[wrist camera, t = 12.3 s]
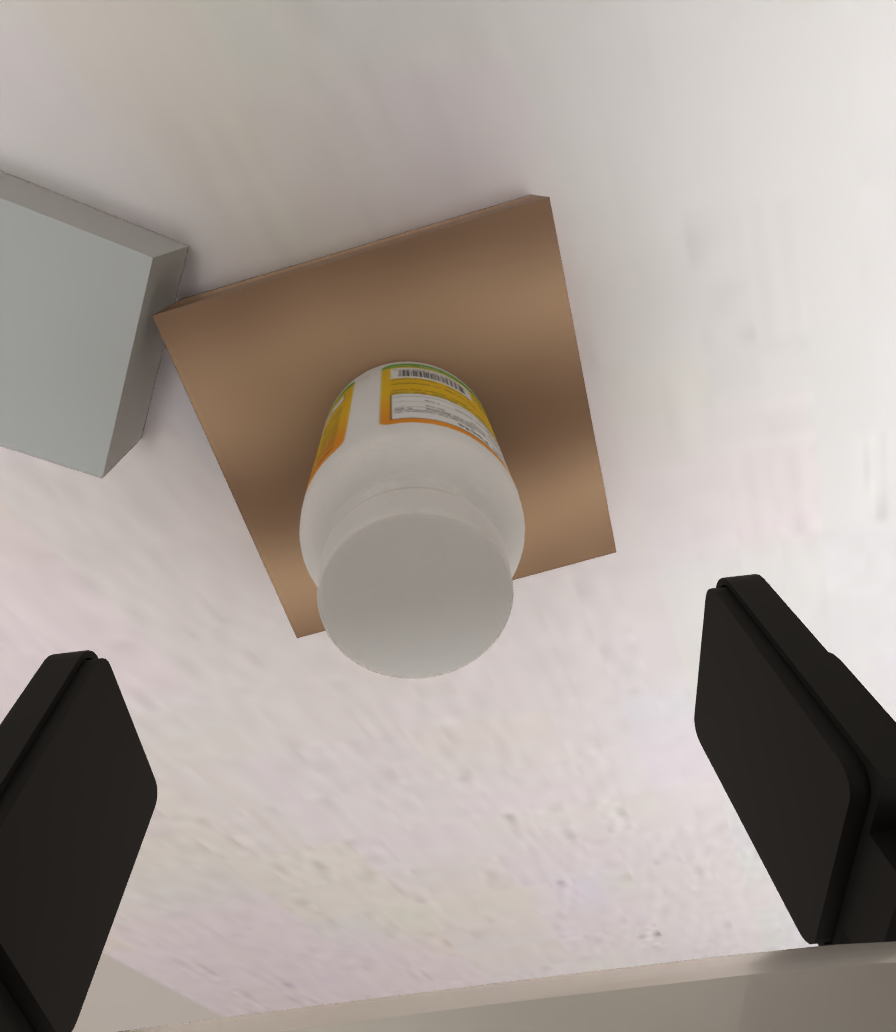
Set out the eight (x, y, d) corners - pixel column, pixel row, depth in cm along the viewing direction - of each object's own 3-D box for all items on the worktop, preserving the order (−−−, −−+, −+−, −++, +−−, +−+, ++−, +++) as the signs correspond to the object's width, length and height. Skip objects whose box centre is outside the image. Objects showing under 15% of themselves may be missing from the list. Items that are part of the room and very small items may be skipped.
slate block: (-41, 152, 21) (-129, 147, 18) (190, 245, 23) (153, 257, 19) (-66, 366, 24) (-148, 398, 20) (143, 436, 26) (102, 478, 22)
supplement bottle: (370, 539, 24) (358, 741, 16) (292, 402, 22) (226, 548, 13) (514, 476, 24) (585, 650, 15) (449, 328, 21) (487, 431, 13)
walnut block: (180, 299, 23) (152, 315, 21) (530, 194, 23) (549, 196, 20) (306, 594, 29) (297, 638, 26) (594, 516, 28) (616, 552, 25)
